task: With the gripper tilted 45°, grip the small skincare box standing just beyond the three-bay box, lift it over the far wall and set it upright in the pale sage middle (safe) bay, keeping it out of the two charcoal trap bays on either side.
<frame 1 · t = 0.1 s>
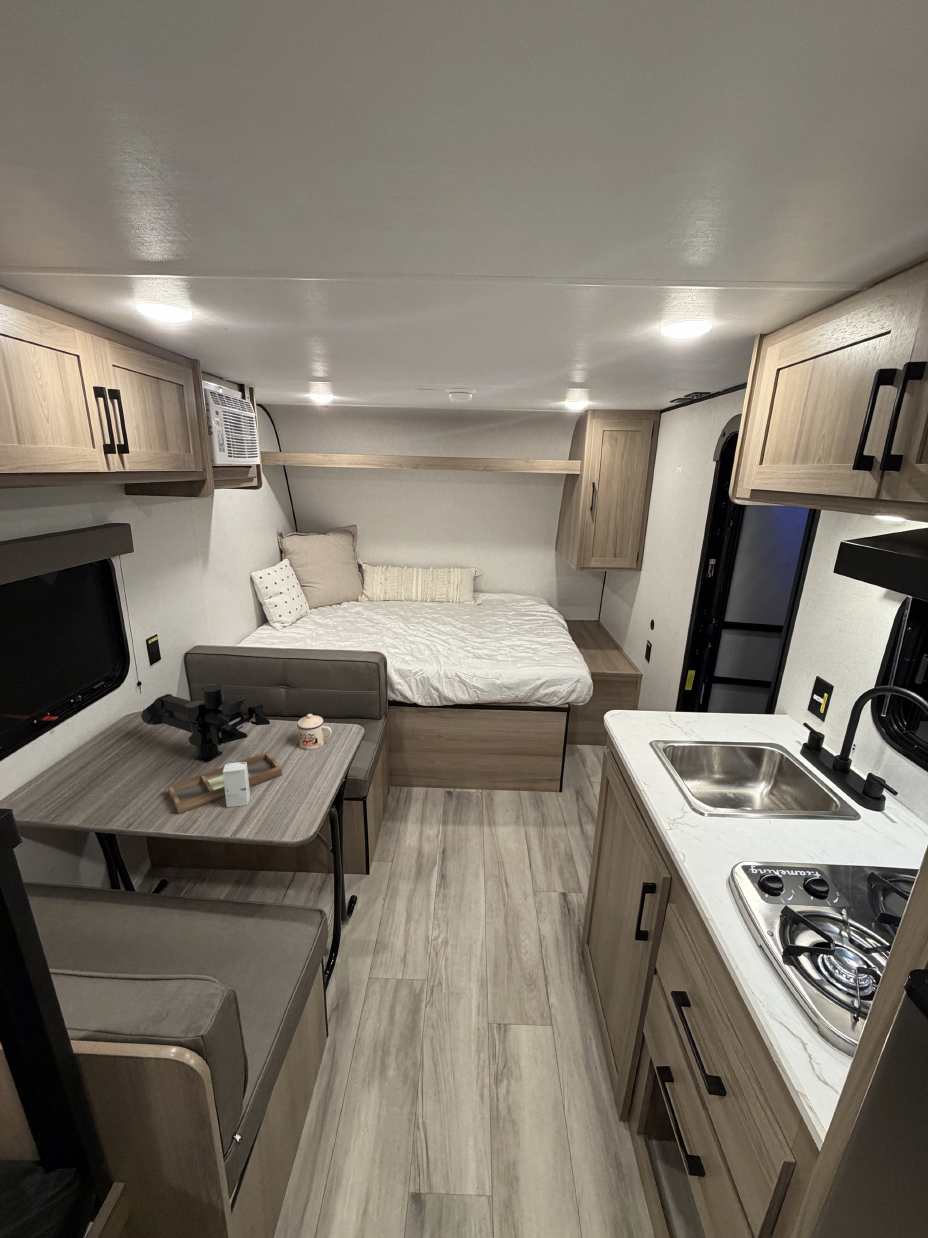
hand: (258, 729, 158), 17 cm above the table, tool horizontal, fingers open, 9 cm apart
skincare box: (239, 802, 150), on the table
teacup with lid: (316, 744, 181), on the table
three bay box: (227, 784, 158), on the table
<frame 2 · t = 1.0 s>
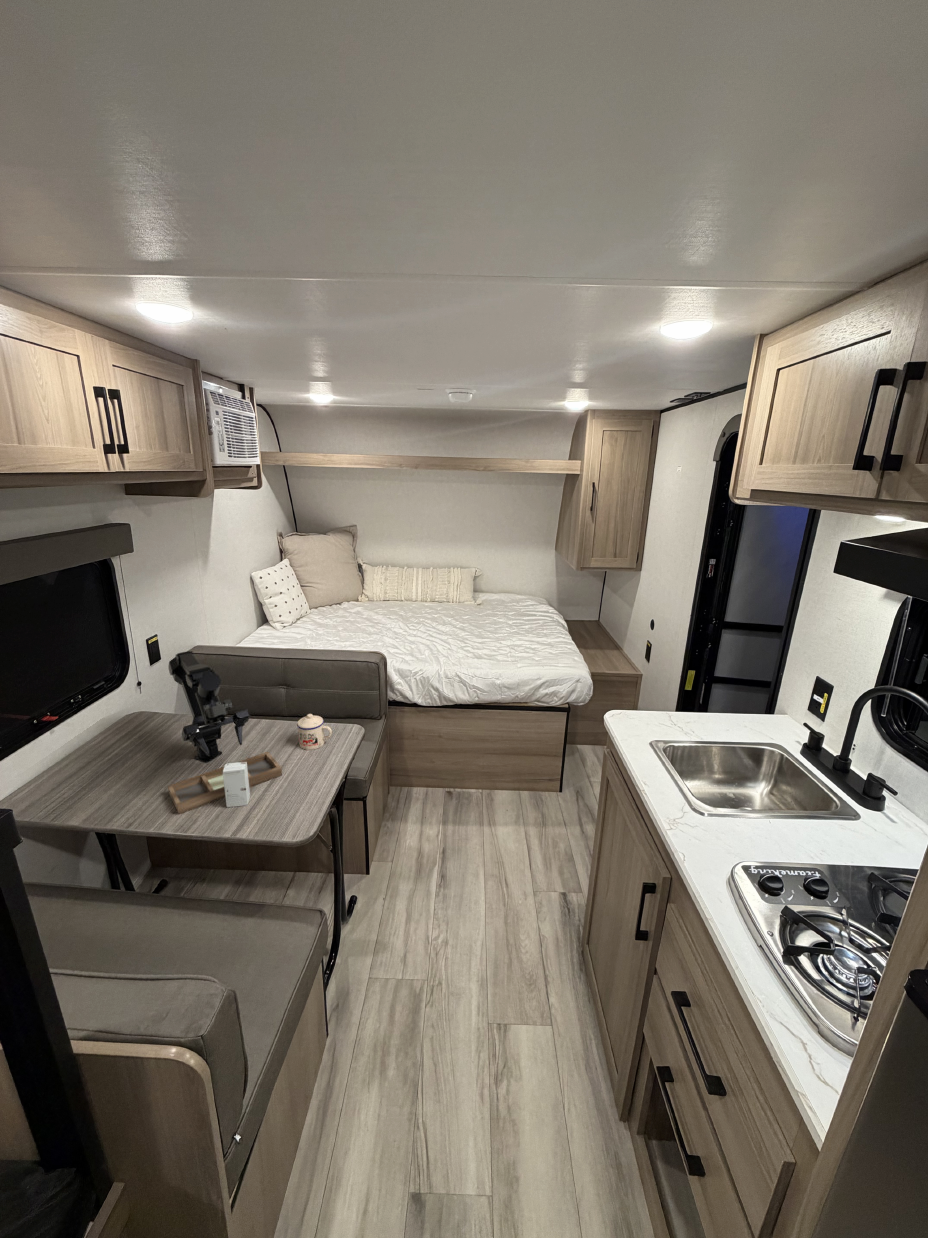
hand: (225, 749, 152), 14 cm above the table, tool tilted 45°, fingers open, 9 cm apart
nothing on the table moved.
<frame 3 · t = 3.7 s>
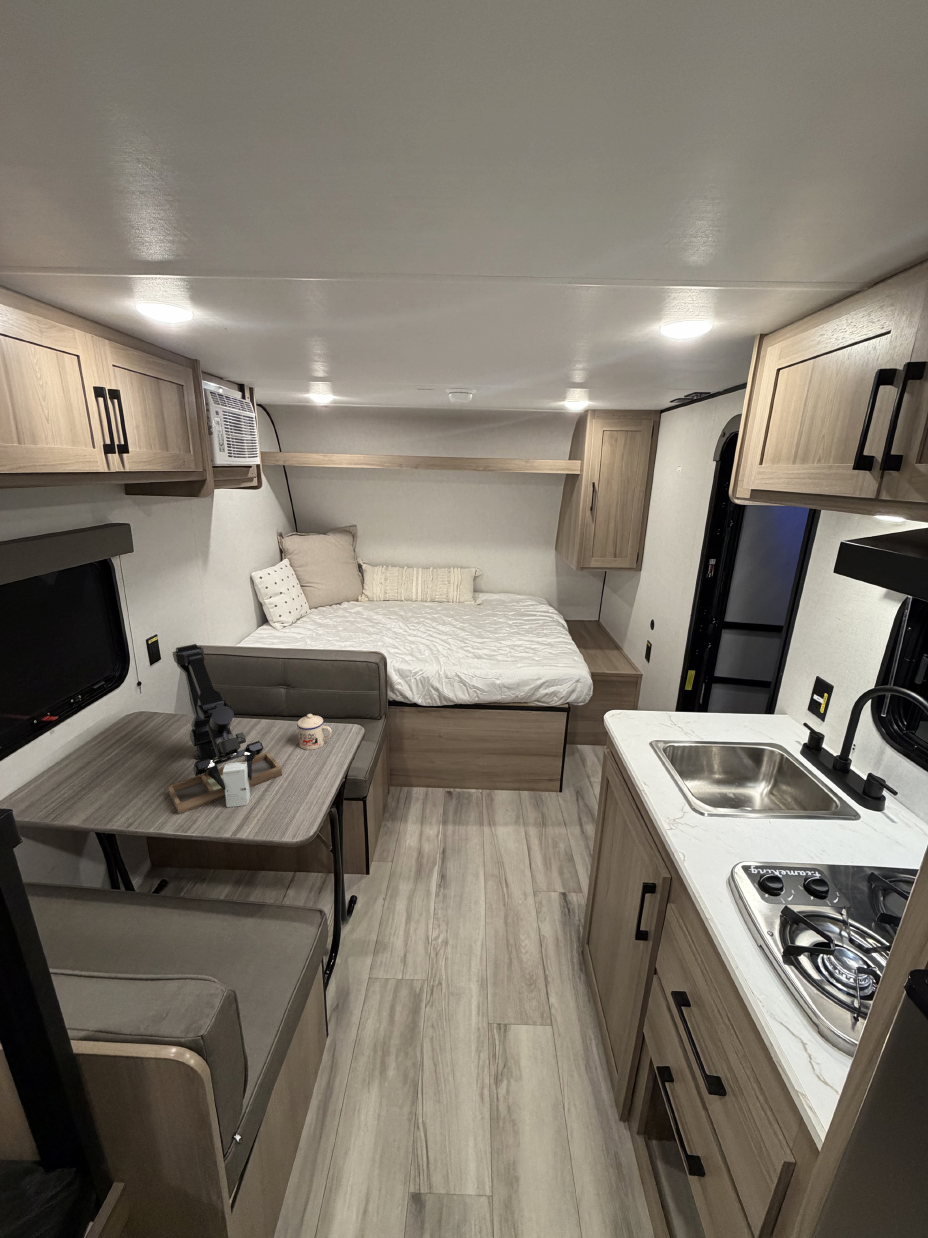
hand: (238, 784, 147), 7 cm above the table, tool tilted 45°, fingers closed on skincare box, 7 cm apart
skincare box: (239, 802, 150), on the table, touching gripper
everything else where it was.
when the fingers open (8 cm above the table, at t = 7.8 s): skincare box stays where it is, resting on three bay box.
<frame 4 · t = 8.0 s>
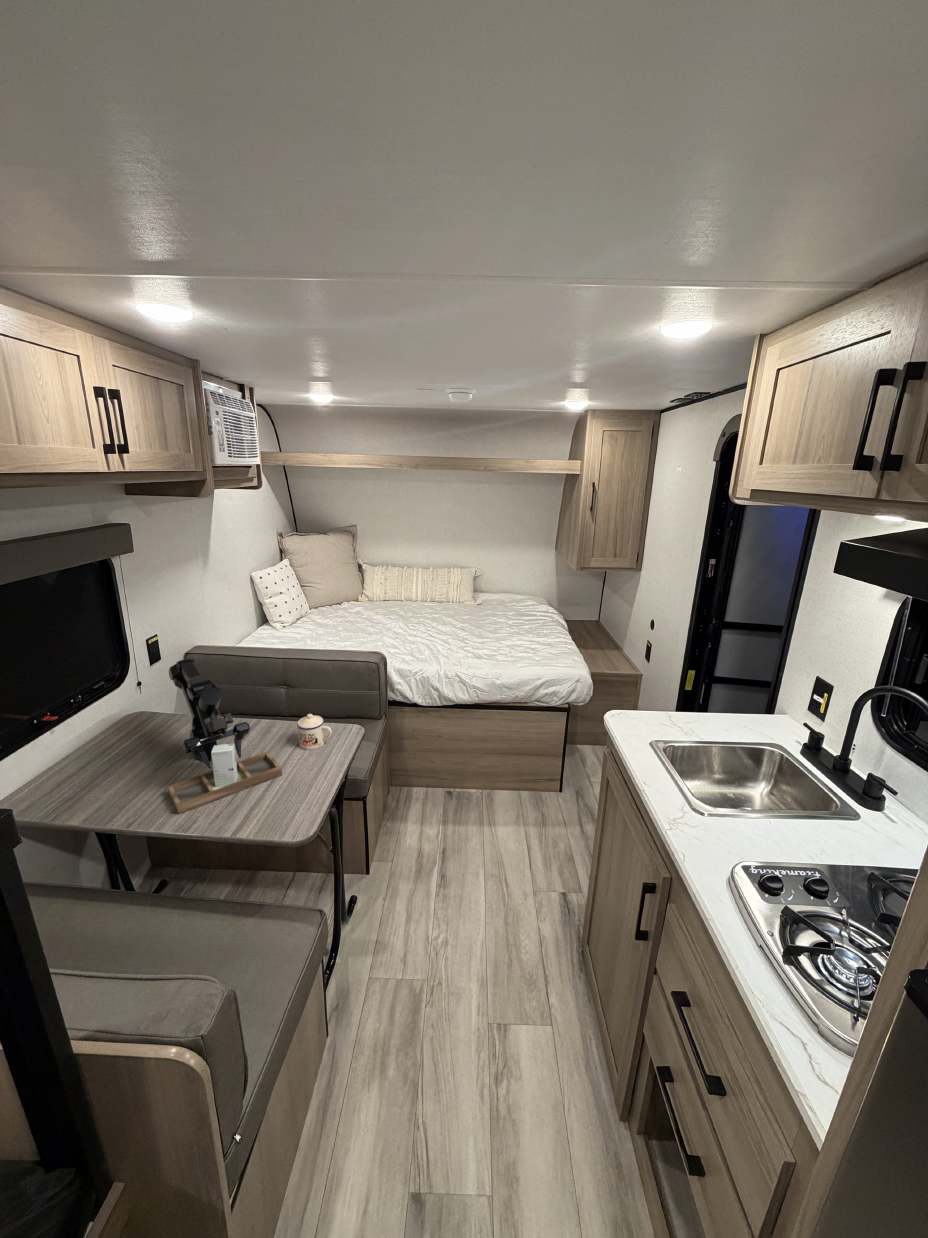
hand: (225, 762, 154), 9 cm above the table, tool tilted 45°, fingers open, 8 cm apart
skincare box: (227, 782, 158), point 1 cm above the table, touching three bay box
everything else where it was.
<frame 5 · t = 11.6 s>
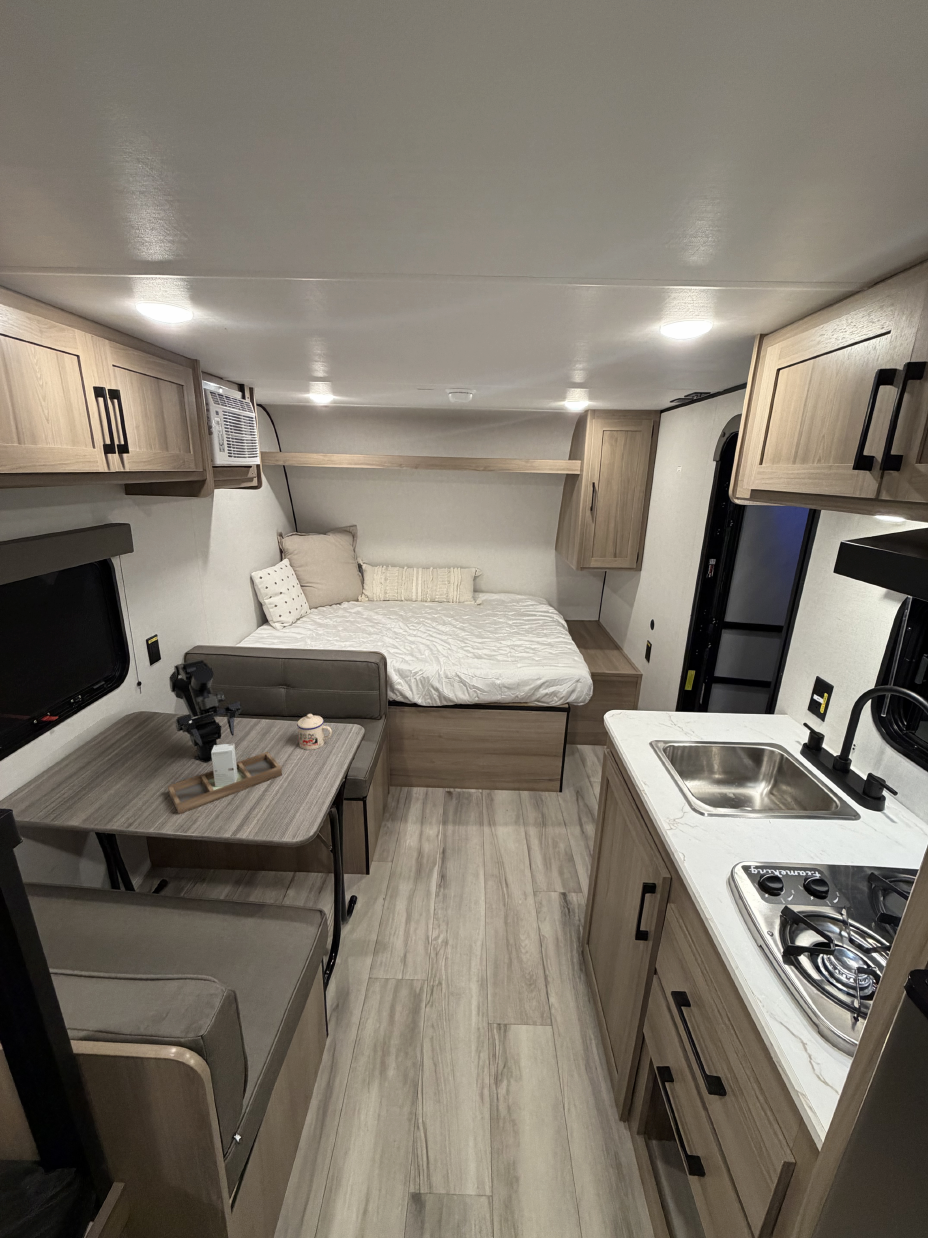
hand: (217, 740, 157), 14 cm above the table, tool tilted 45°, fingers open, 9 cm apart
nothing on the table moved.
at the end: skincare box 0.3 cm off-centre on the three bay box, point 0.7 cm above the three bay box's base; skincare box tilted 0°; the gripper is holding nothing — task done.
